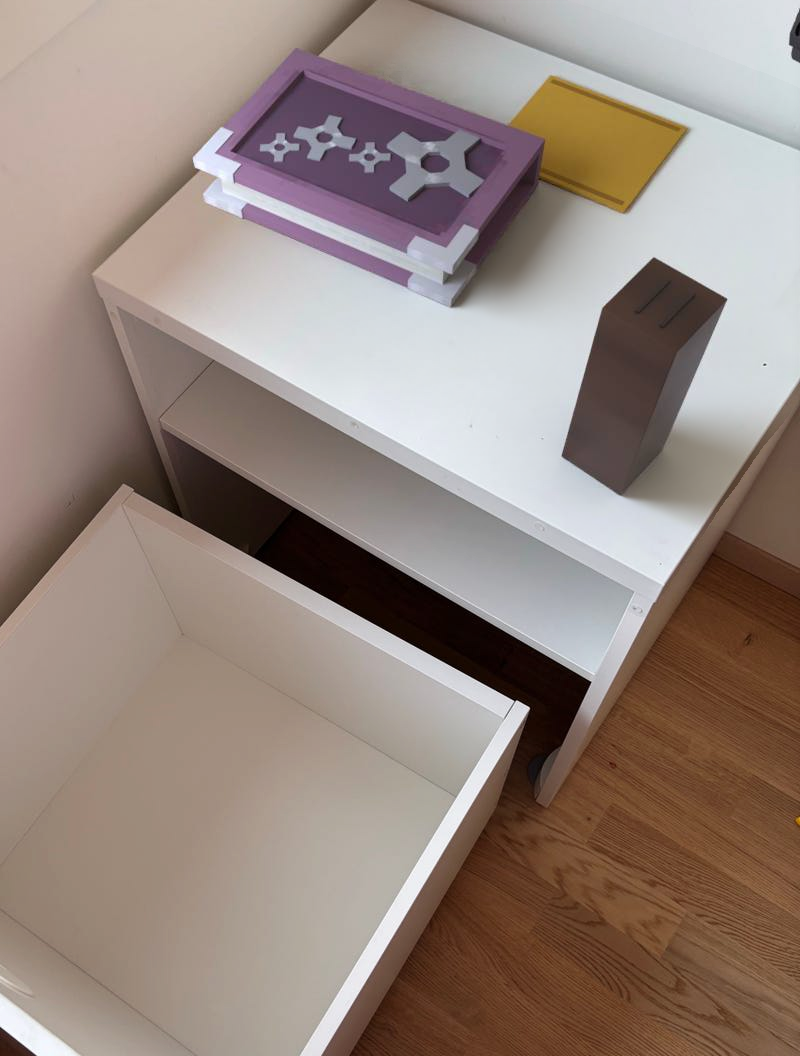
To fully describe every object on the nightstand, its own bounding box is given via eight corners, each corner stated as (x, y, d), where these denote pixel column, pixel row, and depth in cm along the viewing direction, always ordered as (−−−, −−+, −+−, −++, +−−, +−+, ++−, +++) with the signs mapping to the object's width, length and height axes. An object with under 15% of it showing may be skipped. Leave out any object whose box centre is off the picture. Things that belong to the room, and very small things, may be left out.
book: (202, 205, 90) (192, 157, 85) (298, 96, 95) (294, 46, 90) (449, 310, 83) (452, 265, 79) (538, 187, 88) (546, 138, 84)
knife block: (603, 411, 78) (654, 255, 63) (662, 449, 76) (728, 297, 62) (560, 456, 77) (601, 306, 62) (620, 496, 75) (676, 351, 60)
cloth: (686, 130, 90) (687, 126, 90) (623, 213, 86) (624, 210, 86) (550, 77, 94) (550, 74, 94) (484, 155, 90) (484, 152, 90)
